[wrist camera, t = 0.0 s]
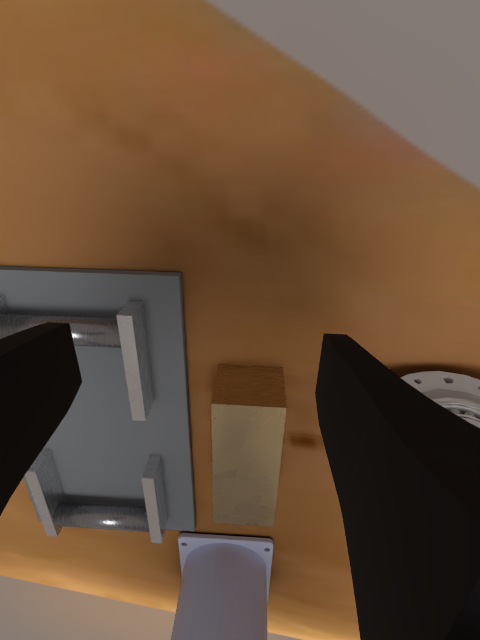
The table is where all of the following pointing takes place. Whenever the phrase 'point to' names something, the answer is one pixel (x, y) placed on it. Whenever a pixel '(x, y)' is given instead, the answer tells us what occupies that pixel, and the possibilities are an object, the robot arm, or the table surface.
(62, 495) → the chain end
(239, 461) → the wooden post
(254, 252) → the table surface
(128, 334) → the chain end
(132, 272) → the join mat
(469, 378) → the mechanical component
